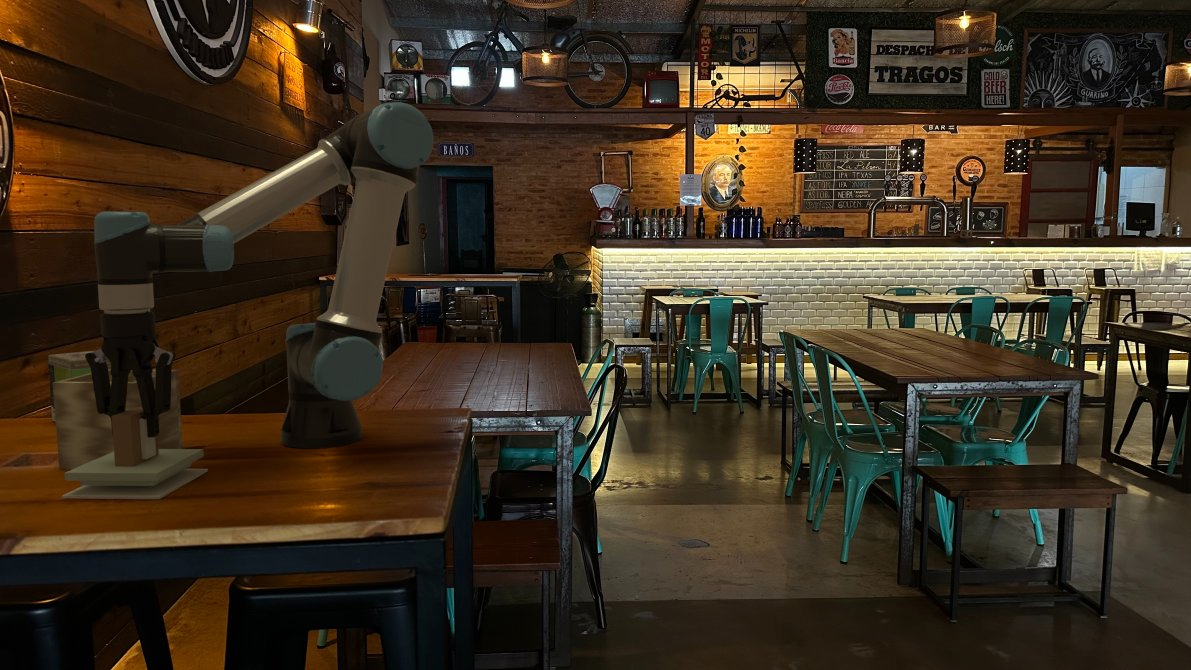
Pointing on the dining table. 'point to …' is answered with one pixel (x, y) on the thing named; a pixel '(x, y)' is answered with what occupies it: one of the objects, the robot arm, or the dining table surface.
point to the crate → (103, 419)
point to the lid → (132, 458)
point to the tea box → (67, 369)
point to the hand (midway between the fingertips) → (137, 456)
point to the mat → (137, 488)
